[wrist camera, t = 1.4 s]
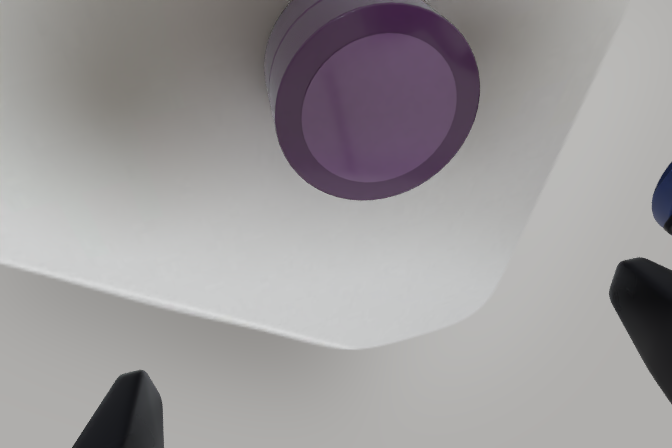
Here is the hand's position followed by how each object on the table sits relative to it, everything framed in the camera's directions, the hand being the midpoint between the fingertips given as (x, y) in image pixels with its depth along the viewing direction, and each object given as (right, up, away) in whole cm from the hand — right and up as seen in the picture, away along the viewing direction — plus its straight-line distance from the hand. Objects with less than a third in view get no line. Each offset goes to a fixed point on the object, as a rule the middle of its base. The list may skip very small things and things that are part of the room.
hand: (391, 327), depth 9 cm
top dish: (0, +7, +8) cm, 10 cm away
